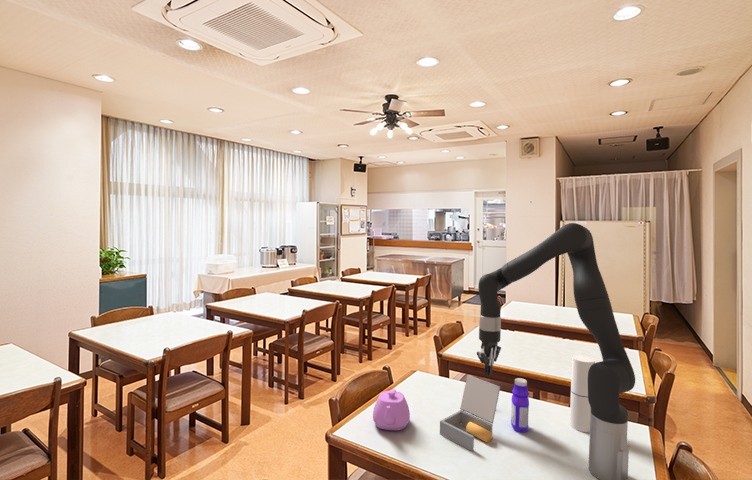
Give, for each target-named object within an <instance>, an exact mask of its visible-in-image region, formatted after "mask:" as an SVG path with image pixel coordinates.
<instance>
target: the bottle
mask: <svg viewBox="0 0 752 480" xmlns="http://www.w3.org/2000/svg"><path fill="white" fill-rule="evenodd" d="M511 393H512V396H511V414H510V415H511V416H510V425H511V427H512V428H513V430H514V431H515V432H520V433H526V432H527V431H528V429H529V408H530V407H529V406H530V401H529V400H530V399H529V395H530V392H529V390H528V380H526V379H524V378H521V377H517V378H515V379H514V386H513V389H512V391H511Z"/></svg>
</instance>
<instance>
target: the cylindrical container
mask: <svg viewBox="0 0 752 480" xmlns="http://www.w3.org/2000/svg"><path fill="white" fill-rule="evenodd" d="M594 363H596V360H595V359H594V358H592V357H591V356H585V355H582V354H581V355H579V354H575V355H572V357H571V379H570V403H569V404H570V407H569V412H570V413H569V427H571V428H572V429H573V430H576V431H578V432H582V433H590V414H591V407H590V404H589V401H588V371H589V368H590V367H591V365H592V364H594Z"/></svg>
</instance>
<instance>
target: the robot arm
mask: <svg viewBox="0 0 752 480" xmlns="http://www.w3.org/2000/svg"><path fill="white" fill-rule="evenodd" d="M595 249H596V248H595V243H594V237H593V234H592V233H591V231H590V230H589V229H588V228H587V227H586V226H584V225H582V224H579V223H576V222H571V223H566V224H564V225H563V226H561V227H560V228H559V229H557V230H556V231H554V232H553V233H552V234H551V235H549V237H547V238H546V239H544V240H543V241H541V242H540V243H539V244H538V245H536V246H534V247H533V248H531V249H529V250H528V251H525V252H523V253H522V254H520V255H519V256H517V257H515V258H513V259H512V260H510V261H507V262H506V263H504V264H503V265H502V266H501V267H500V268H498V269H496V270H494V271H492V272H490V273H486V274H483V275H482V276H481V277H480V278H479V280H478V295H479V300H480V311H479V312H480V316H479V321H478V322H479V325H478V327H479V329H478V339H479V340H480V341H481V345H480V351H476V355H477V357H478V359H479V362H480V363H481V364H484V374H485V375H487V376H491V375H493V367H494V366H493V365H494V364H495V362H497V360H498V358H499V355H500V352H501V350H502V347H501V346H499V343H500V341H501V335H502V334H501V333H502V332H501V331H502V330H501V329H502V321H501V310H502V309H501V308H502V307H501V306H502V305H501V301H499V299H498V298H499V297H498V296H499V295H498V292H499V291H501V290H503V289H504V288H506V287H508V286H509V285H511V284H512V283H515V282H517V281H520V280H521V279H524V278H525V277H527V276H529V275H531V274H532V273H533V272H535V271H537V270H538V269H539V268H541V267H543V265H544V264H546V263H547V262H549V261H551V260H552V259H554V258H556V257H559V256H562V255H565V254H567V255H568V258H569V259H568V260H569V261H570V265H571V268H572V273H573V274H572V275H573V279H572V280H573V281H572V284H573V285H572V287H573V290H572V291H573V298H574V301H575V306H576V310H577V312H578V317H579V318H580V319H579V320H580V321H581V322H582V324H583V325H584V326H585V328H586V329H587V330H588V331H589V332H590V335H592V336H593V338H594V339H595V341H596V343H597V345H598V348H599V351H600V354H601V358H602V361H597V362H595V363H594V364H592V365H591V367H590V368H589V371H588V401H589V404H590V407H591V414H590V432H589V445H588V470H589V472H590V474H592V476H594V477H595V478H597V479H598V480H627V479H628V477H629V458H630V457H629V455H630V454H629V453H630V449H629V448H630V445H629V444H628V425H629V412H628V410H627V409H626V407H624V406H623V405H622V404H620V394H624V393H628V392H630V391H631V390H633V389H634V387H635V385H636V375H635V371H634V369H633V366H632V363H631V361H630V359H629V357H628V353H627V351H626V349H625V347H624V344H623V341H622V338H621V335H620V331H619V327H618V325H617V321H616V318H615V316H614V311H613V308H612V307H613V306H612V303H611V300H610V295H609V294H608V291H607V288H606V284H605V282H604V279H603V276H602V274H601V273H602V272H601V271H600V268H599V266H598V265H599V264H598V261H597V255H596V251H595Z"/></svg>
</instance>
